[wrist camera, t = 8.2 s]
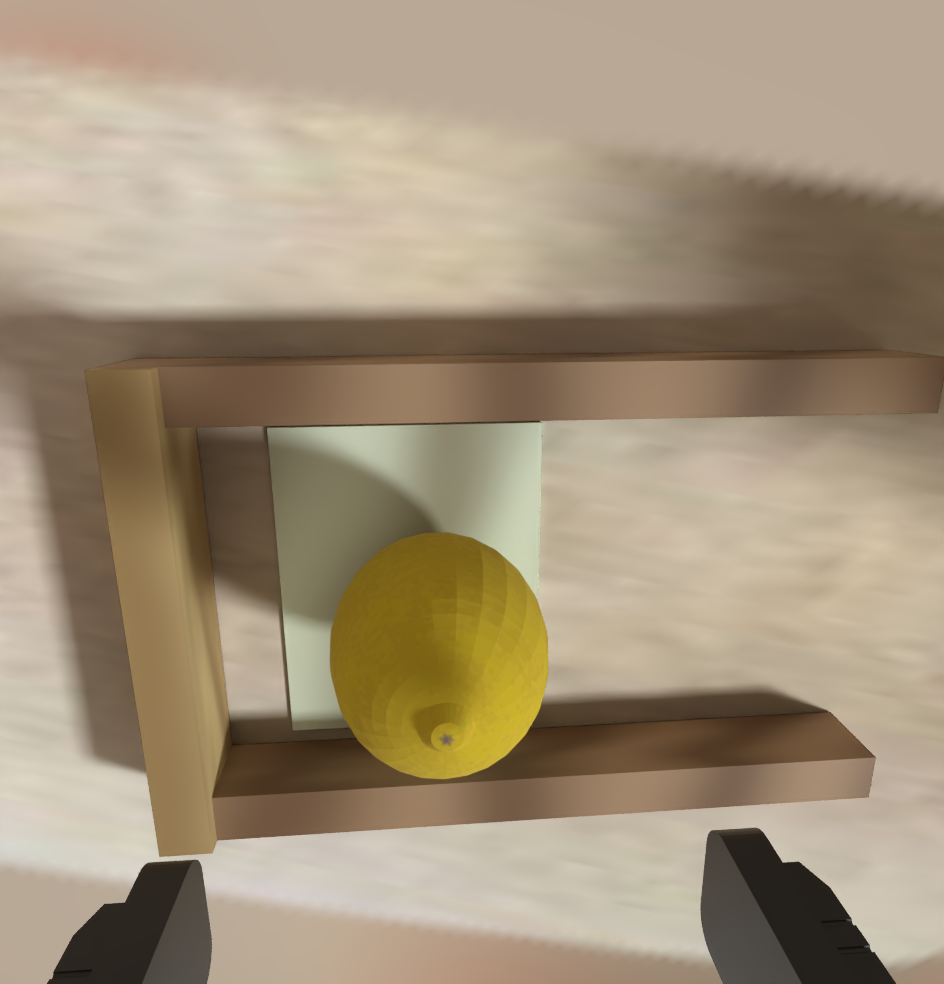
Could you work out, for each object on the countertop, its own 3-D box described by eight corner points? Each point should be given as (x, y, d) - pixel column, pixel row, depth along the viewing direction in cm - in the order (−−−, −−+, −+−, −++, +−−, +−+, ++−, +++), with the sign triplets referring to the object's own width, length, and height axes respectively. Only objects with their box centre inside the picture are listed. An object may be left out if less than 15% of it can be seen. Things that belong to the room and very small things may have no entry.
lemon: (309, 552, 21) (255, 699, 14) (470, 466, 21) (506, 566, 13) (400, 690, 23) (396, 892, 15) (551, 612, 23) (624, 776, 15)
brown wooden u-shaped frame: (887, 349, 21) (961, 359, 18) (824, 749, 25) (878, 808, 22) (132, 358, 19) (84, 370, 17) (190, 786, 23) (159, 856, 20)
